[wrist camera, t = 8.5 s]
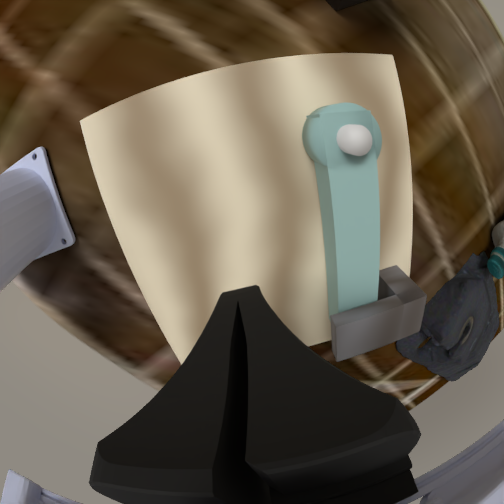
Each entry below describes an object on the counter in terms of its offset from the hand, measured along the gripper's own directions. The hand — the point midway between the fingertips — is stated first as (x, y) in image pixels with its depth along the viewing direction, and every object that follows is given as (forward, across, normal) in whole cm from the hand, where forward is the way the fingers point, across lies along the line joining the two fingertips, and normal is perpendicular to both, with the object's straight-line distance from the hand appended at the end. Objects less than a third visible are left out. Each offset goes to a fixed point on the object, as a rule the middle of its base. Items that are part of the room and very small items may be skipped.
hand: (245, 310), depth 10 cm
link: (+8, -7, +1) cm, 11 cm away
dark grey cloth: (+10, -24, +20) cm, 34 cm away
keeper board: (+9, -2, +1) cm, 10 cm away
